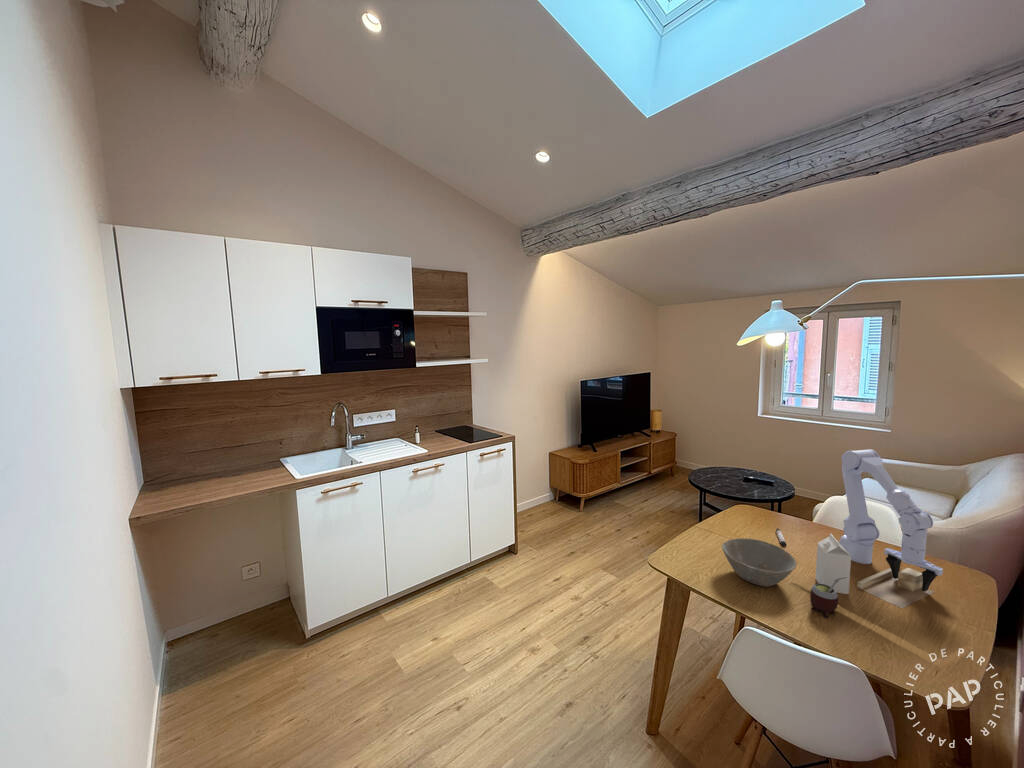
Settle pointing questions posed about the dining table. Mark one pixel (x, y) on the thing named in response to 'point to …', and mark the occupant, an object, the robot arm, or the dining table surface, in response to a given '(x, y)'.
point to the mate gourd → (824, 598)
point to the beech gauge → (910, 579)
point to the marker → (781, 537)
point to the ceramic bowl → (758, 561)
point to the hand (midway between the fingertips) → (910, 583)
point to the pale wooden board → (891, 589)
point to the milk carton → (833, 564)
